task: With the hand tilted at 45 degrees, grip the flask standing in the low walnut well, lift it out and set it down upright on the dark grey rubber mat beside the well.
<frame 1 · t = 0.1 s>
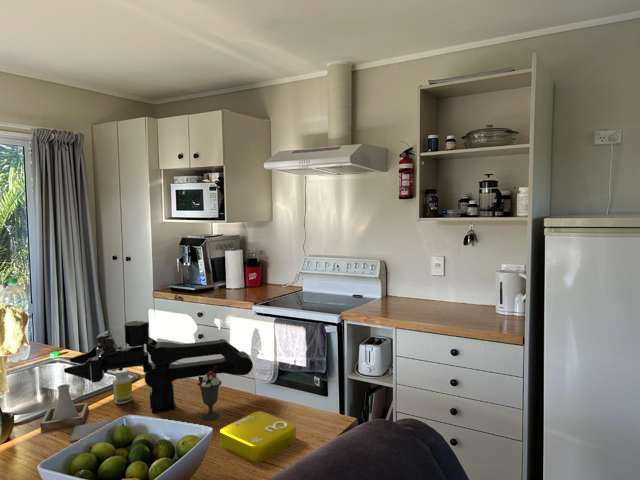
hand: (67, 365, 136), 17 cm above the countertop, tool horizontal, fingers open, 9 cm apart
supplement bottle: (123, 401, 151), on the countertop
flask: (65, 420, 138), on the countertop
element tile: (258, 444, 123), on the countertop
sundae: (211, 417, 138), on the countertop
walnut well: (65, 419, 138), on the countertop
rubber mat: (91, 431, 131), on the countertop
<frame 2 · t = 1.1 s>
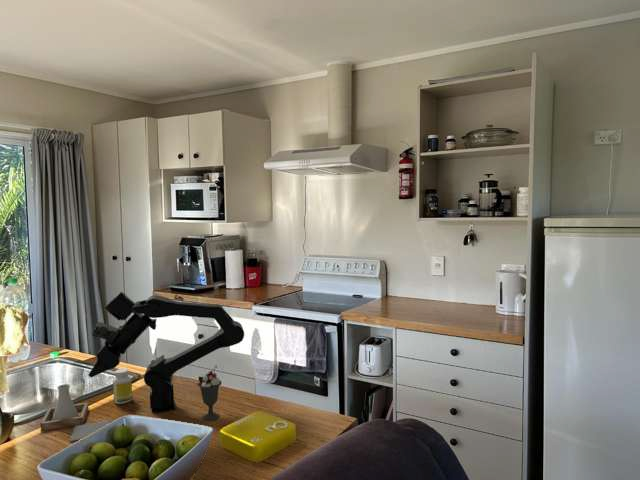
hand: (92, 370, 139), 14 cm above the countertop, tool tilted 45°, fingers open, 9 cm apart
nothing on the countertop moved.
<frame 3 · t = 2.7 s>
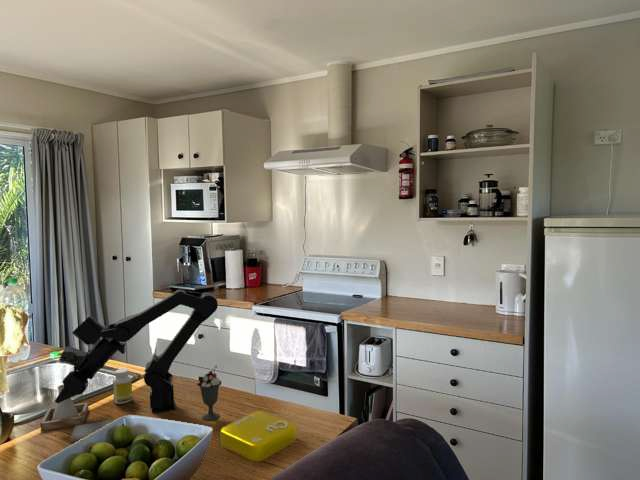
hand: (60, 395, 138), 7 cm above the countertop, tool tilted 45°, fingers open, 9 cm apart
nothing on the countertop moved.
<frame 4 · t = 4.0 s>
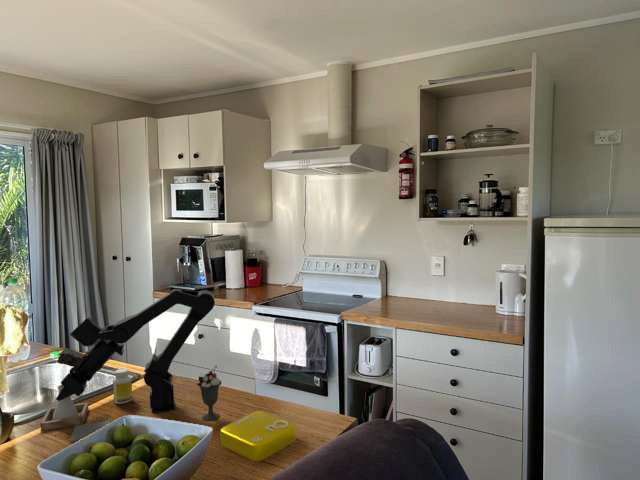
hand: (58, 397, 137), 7 cm above the countertop, tool tilted 45°, fingers closed on flask, 3 cm apart
flask: (65, 419, 138), on the countertop, touching gripper
everything else where it was.
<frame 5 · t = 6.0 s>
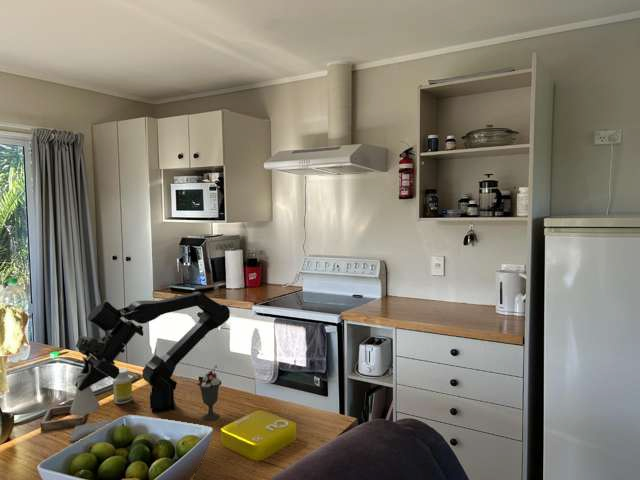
hand: (77, 388, 130), 12 cm above the countertop, tool tilted 45°, fingers closed on flask, 3 cm apart
flask: (85, 411, 131), point 5 cm above the countertop, touching gripper
everything else where it was.
when the fingers open (8 cm above the countertop, at t = 7.8 s): flask drops 1 cm, resting on rubber mat.
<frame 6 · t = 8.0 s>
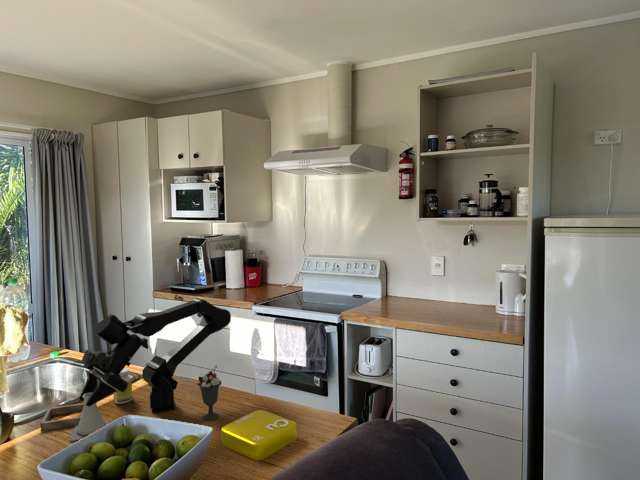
hand: (83, 402, 129), 9 cm above the countertop, tool tilted 45°, fingers open, 5 cm apart
flask: (91, 430, 131), resting on rubber mat
everything else where it was.
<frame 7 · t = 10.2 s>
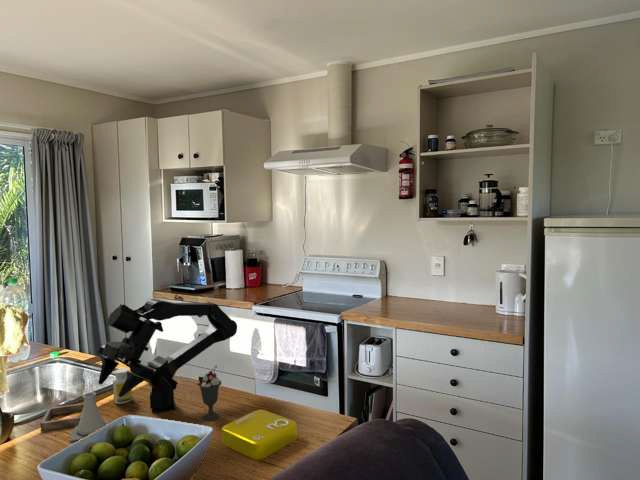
hand: (109, 390, 134), 10 cm above the countertop, tool tilted 35°, fingers open, 9 cm apart
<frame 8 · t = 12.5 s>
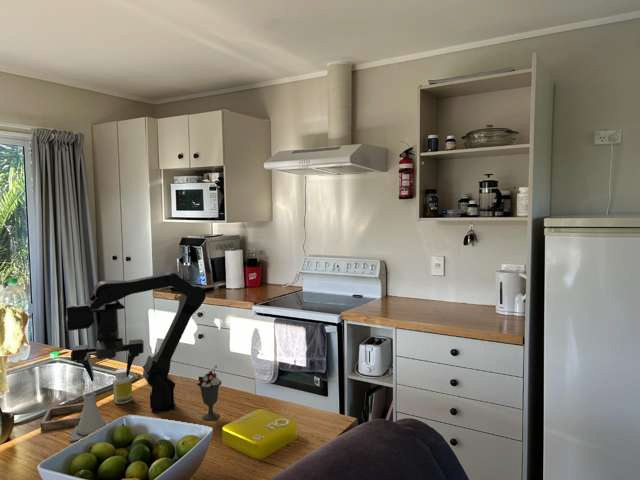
hand: (110, 378, 137), 12 cm above the countertop, tool pointing down, fingers open, 9 cm apart
at the end: flask 0.2 cm from the target spot, on the countertop; flask tilted 0°; the gripper is holding nothing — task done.
